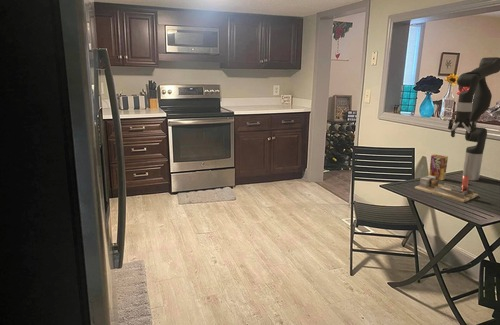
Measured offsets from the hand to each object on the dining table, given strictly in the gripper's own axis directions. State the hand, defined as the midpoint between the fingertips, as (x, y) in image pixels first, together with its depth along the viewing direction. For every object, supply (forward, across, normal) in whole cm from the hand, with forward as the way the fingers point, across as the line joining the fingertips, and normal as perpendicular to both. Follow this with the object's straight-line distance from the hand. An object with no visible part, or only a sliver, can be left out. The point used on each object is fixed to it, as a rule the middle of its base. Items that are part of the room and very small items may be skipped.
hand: (460, 138), depth 204 cm
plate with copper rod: (+29, -10, +13) cm, 33 cm away
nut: (+29, +5, +13) cm, 32 cm away
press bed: (+30, -2, +13) cm, 33 cm away
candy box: (+30, +15, -8) cm, 35 cm away
